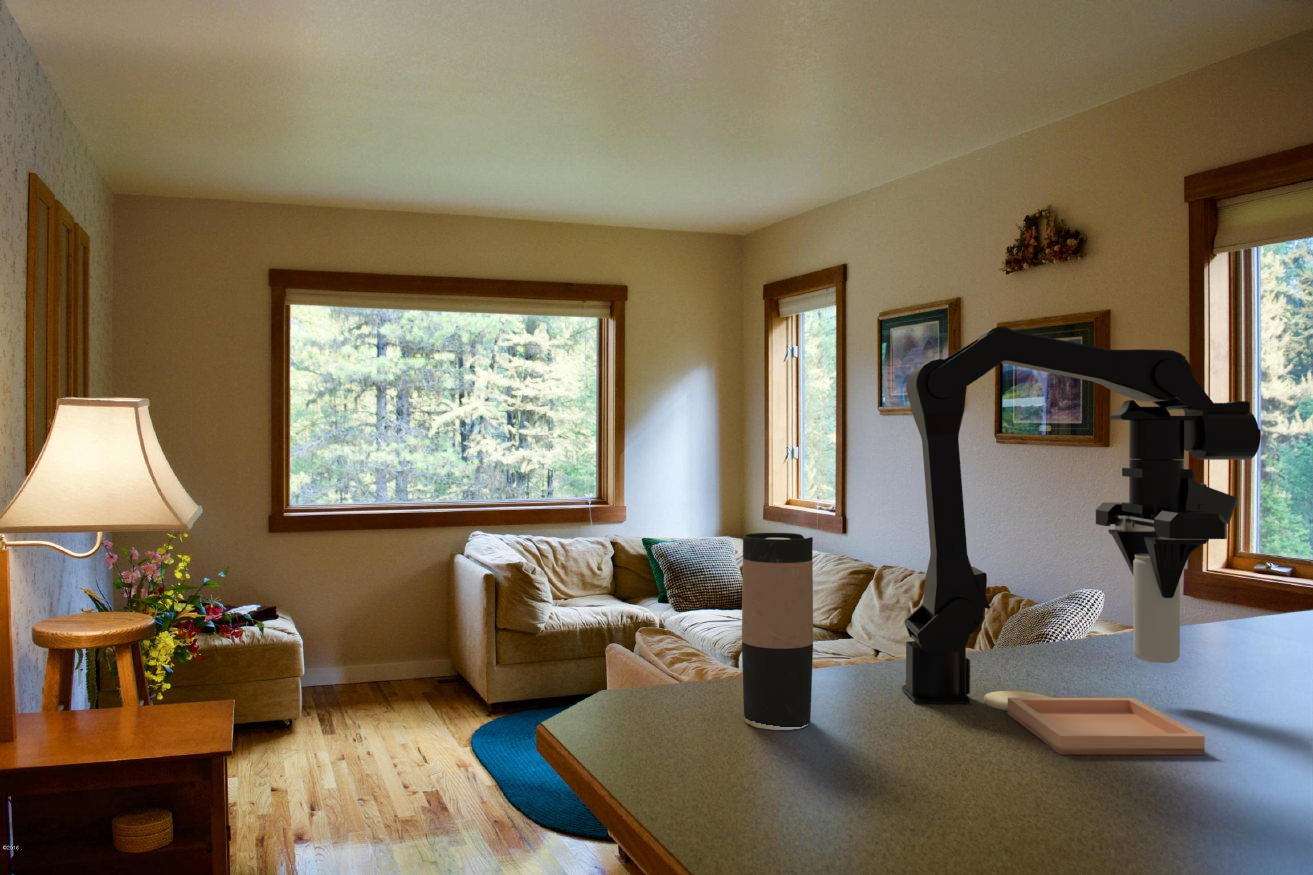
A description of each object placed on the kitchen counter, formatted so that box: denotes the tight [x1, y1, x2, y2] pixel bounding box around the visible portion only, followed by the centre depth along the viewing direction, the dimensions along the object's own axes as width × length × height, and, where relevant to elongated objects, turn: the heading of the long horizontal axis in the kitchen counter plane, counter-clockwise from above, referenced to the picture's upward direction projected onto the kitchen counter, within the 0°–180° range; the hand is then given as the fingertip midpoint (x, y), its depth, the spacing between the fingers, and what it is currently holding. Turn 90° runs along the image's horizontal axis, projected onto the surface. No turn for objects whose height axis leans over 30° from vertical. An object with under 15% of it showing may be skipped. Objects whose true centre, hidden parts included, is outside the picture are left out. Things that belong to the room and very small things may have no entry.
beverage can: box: [1132, 554, 1181, 664], centre depth 114 cm, size 5×5×12 cm
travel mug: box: [741, 532, 814, 727], centre depth 106 cm, size 8×8×20 cm
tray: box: [1007, 697, 1206, 756], centre depth 102 cm, size 14×14×2 cm
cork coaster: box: [983, 690, 1052, 712], centre depth 113 cm, size 8×8×1 cm
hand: (1156, 594), depth 114 cm, fingers closed on beverage can, 5 cm apart
